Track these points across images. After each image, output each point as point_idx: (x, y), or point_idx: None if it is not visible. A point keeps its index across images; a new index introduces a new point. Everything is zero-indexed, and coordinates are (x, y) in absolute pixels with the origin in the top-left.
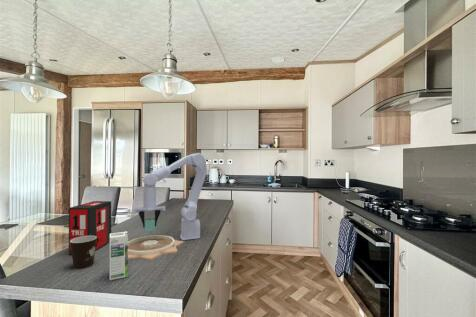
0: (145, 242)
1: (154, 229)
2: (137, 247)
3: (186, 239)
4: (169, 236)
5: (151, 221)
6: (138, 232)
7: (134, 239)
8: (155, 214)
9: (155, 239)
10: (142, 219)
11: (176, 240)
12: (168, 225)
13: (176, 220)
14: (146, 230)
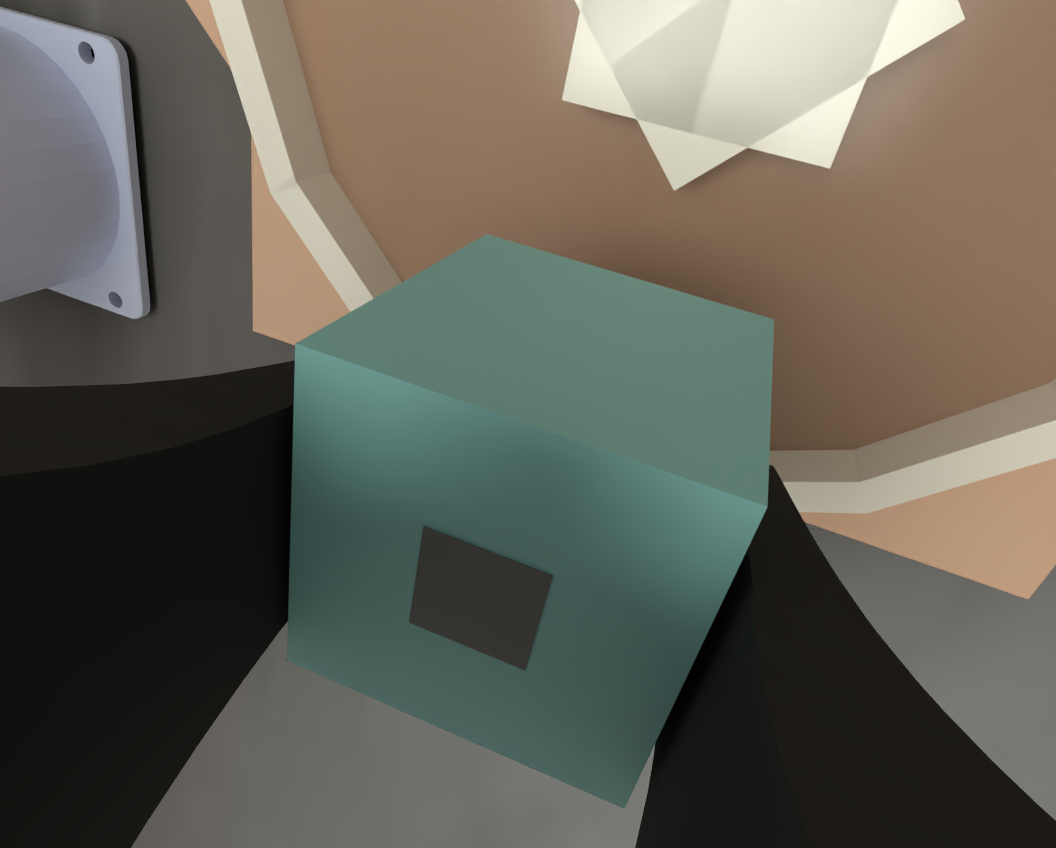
0: (833, 61)
1: (485, 241)
2: (1047, 42)
3: (53, 21)
4: (268, 176)
5: (466, 365)
6: (631, 834)
7: (937, 460)
8: (10, 463)
9: None
10: (861, 659)
11: (198, 15)
12: (252, 779)
13: (162, 840)
14: (720, 312)
